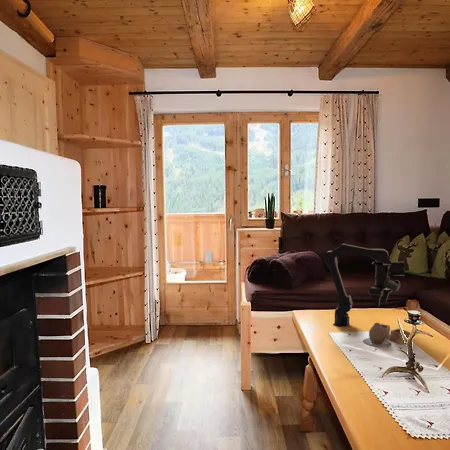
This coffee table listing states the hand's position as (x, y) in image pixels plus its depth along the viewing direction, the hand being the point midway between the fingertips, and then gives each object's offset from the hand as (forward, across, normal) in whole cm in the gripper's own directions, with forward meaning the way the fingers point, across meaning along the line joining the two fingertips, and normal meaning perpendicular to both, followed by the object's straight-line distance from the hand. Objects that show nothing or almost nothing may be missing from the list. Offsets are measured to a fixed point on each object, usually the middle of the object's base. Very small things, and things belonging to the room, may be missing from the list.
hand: (381, 305), depth 191 cm
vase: (+12, -20, -6) cm, 24 cm away
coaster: (+12, -20, -6) cm, 24 cm away
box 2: (+12, -11, -13) cm, 21 cm away
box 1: (+12, -9, -4) cm, 16 cm away
